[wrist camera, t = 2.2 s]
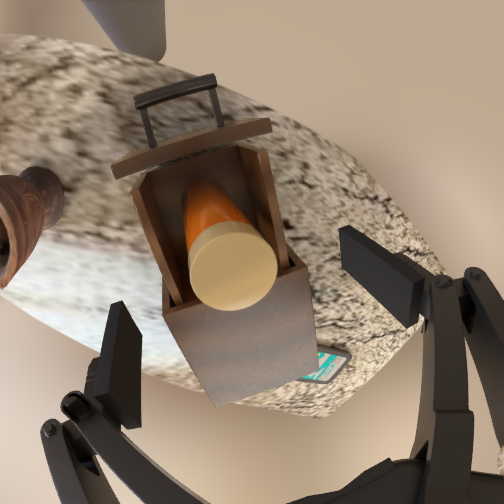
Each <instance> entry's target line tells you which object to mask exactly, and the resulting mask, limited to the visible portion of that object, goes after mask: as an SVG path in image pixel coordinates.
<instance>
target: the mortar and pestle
mask: <svg viewBox="0 0 504 504" xmlns="http://www.w3.org/2000/svg"><path fill="white" fill-rule="evenodd" d="M63 206H64V192H63V188H62V185H61V182H60V181H59V179H58V177H57V176H56V175H55V174H54V173H53V172H51V171H50V170H48V169H45V168H42V167H29V168H27V169H26V170H24V171H23V172H22V173H21V174H20V175H19V177H18V176H13V175H0V289H3V288H5V287H6V286H7V285H8V283H9V282H10V281H11V279H12V278H13V277H14V275H15V274H16V273H17V272H18V270H19V269H20V268H21V266H22V265H23V264H24V263H25V262H26V260H27V259H28V257H29V256H30V254H31V253H32V252H33V250H34V248H35V246H36V244H37V241H38V239H39V237H40V235H41V233H42V231H43V230H46V229H48V228H50V227H51V226H52V225H54V224H55V223H56V222H57V221H58V220H59V219H60V217H61V214H62V212H63Z"/></svg>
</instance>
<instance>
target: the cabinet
mask: <svg viewBox="0 0 504 504" xmlns="http://www.w3.org/2000/svg"><path fill="white" fill-rule="evenodd" d="M286 248H287V253H288V259H289V264H290V268H288V269H285V270H283V271H280V272H277V275H276V279H275V282H274V284H273V286H272V287H271V289H270V291H269V292H268V293H267V294H266V295H265V296H264V297H263V298H262V299H261V300H260V301H258V302H257V303H255V304H253V305H251V306H249V307H247V308H244V309H240V310H234V311H224V310H218V309H215V308H212V307H210V306H208V305H206V304H205V303H203V302H202V301H201V300H200V299H197V300H194V301H191V302H188V303H185V304H182V305H178V306H176V305H175V302H174V300H173V298H172V296H171V294H170V291H169V289H168V287H167V285H166V283H165V280H164V278H163V276H162V316H163V318H164V320H165V322H166V324H167V326H168V327H169V329H170V331H171V333H172V335H173V337H174V339H175V340H176V342H177V344H178V346H179V348H180V349H181V351H182V353H183V355H184V357H185V358H186V360H187V362H188V364H189V365H190V367H191V369H192V370H193V372H194V374H195V375H196V377H197V379H198V380H199V382H200V384H201V385H202V387H203V389H204V390H205V392H206V393H207V395H208V396H209V398H210V400H211V401H212V403H213V404H214V406H215V407H218V406H222V405H225V404H228V403H231V402H235V401H238V400H241V399H244V398H247V397H250V396H253V395H256V394H259V393H262V392H265V391H267V390H270V389H273V388H276V387H278V386H281V385H284V384H286V383H289V382H292V381H294V380H297V379H299V378H302V377H304V376H307V375H309V374H311V373H314V372H316V371H318V370H319V360H318V350H317V340H316V331H315V322H314V313H313V305H312V297H311V289H310V282H309V274H308V267H307V266H306V265H305V263H304V262H303V261H302V260H301V259H300V258H299V257H298V256H297V254H296V253H295V252H294V251H293V250H292V249H291V248H290V247H289V246H288V245H287V244H286Z"/></svg>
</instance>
